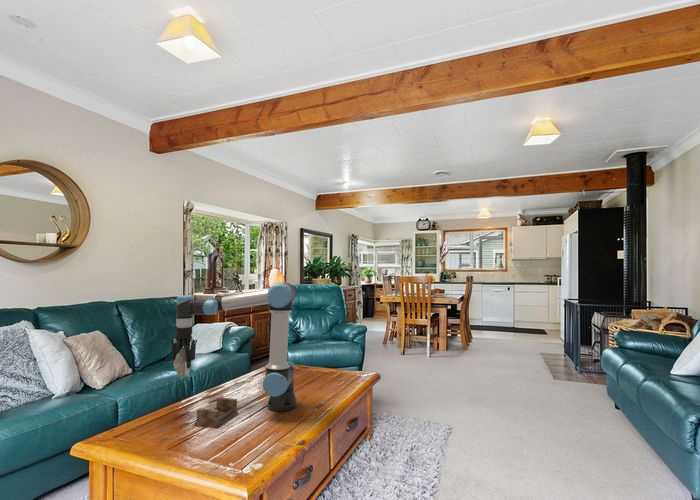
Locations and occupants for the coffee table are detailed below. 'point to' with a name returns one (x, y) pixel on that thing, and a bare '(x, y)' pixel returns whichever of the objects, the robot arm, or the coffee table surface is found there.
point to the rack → (217, 413)
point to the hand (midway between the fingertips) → (182, 374)
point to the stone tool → (180, 363)
